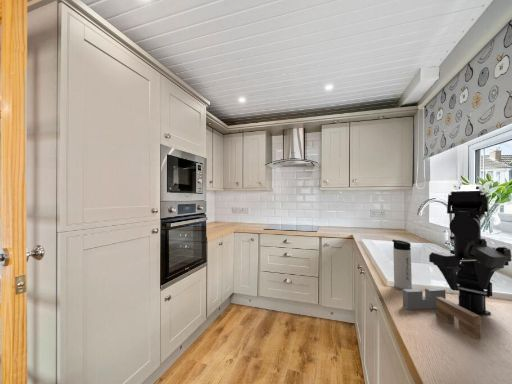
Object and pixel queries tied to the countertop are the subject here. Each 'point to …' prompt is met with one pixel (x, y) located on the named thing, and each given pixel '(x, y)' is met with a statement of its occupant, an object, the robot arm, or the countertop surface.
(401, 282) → the travel mug
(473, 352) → the countertop surface
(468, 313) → the cross plate
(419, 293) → the base plate
